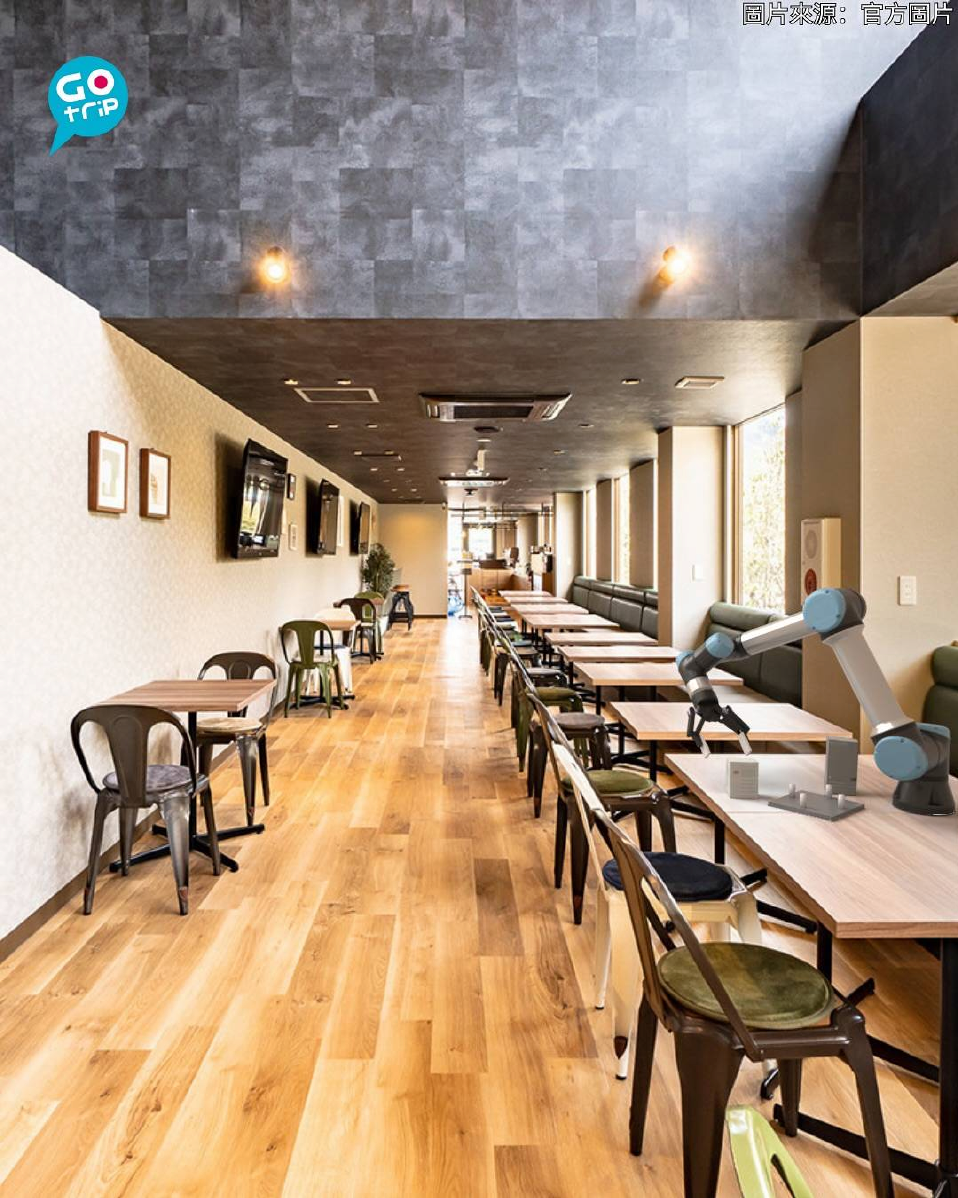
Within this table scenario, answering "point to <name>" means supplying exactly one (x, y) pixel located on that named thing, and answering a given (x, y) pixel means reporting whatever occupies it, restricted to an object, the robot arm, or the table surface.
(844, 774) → the skincare box
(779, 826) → the table surface
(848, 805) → the pin tray
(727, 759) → the small box
